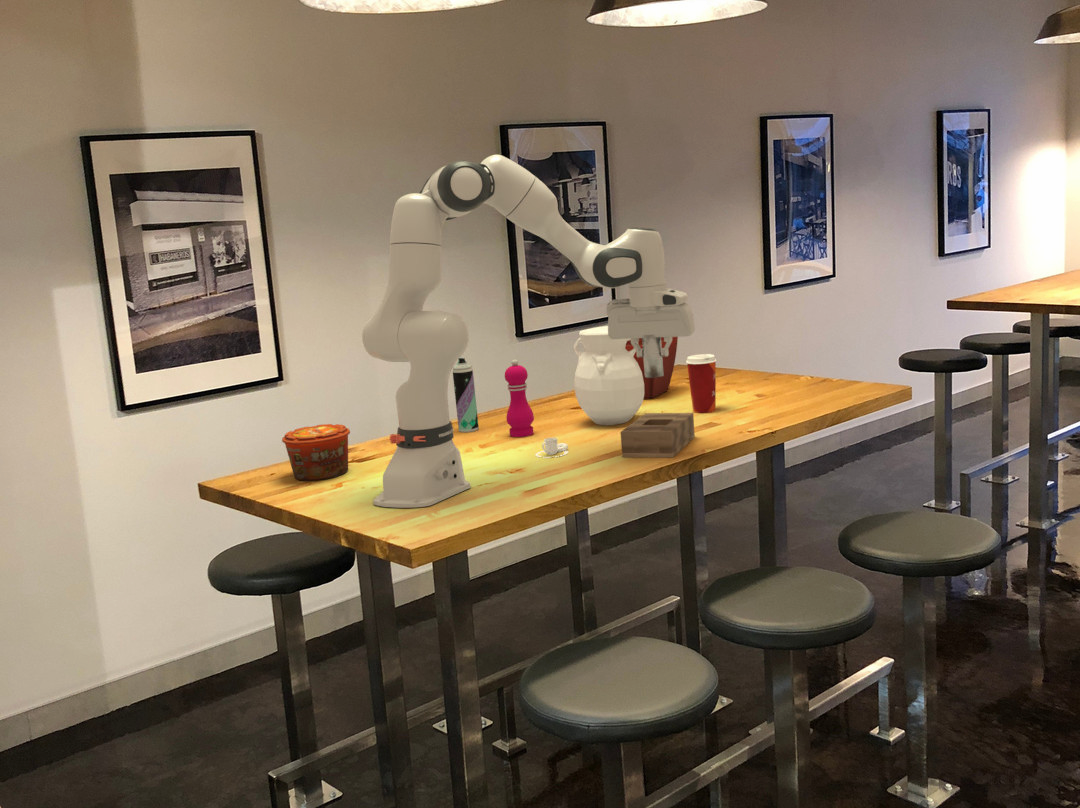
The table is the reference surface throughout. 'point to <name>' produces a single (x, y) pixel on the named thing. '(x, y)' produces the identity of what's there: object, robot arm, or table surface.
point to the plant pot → (660, 384)
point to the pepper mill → (518, 402)
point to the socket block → (657, 435)
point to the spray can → (465, 396)
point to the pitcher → (607, 378)
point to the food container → (318, 451)
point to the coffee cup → (702, 382)
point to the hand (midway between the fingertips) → (652, 356)
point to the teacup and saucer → (553, 447)
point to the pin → (652, 356)
